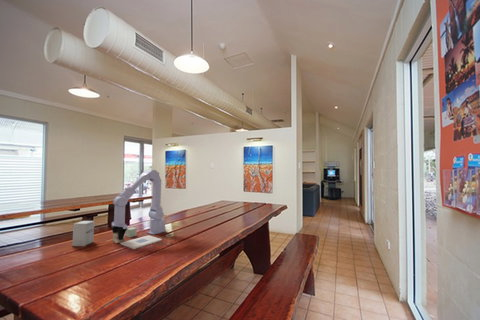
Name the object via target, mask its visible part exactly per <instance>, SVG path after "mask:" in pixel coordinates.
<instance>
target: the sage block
mask: <svg viewBox="0 0 480 320" xmlns="http://www.w3.org/2000/svg"><path fill="white" fill-rule="evenodd" d="M137 229H138V228H137V227H133V226H132V227H127V230H126V232H125V237H126V238H133V236H134V237H136V236H137V232H138V231H137Z"/></svg>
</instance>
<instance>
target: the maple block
mask: <svg viewBox="0 0 480 320" xmlns="http://www.w3.org/2000/svg"><path fill="white" fill-rule="evenodd" d="M125 237H126V233H125V234H124V237H123V240H119V238H118V232H117V233H113V232H112V242H113V243H116V244H118V243H119V244H120V243H122V242H125Z"/></svg>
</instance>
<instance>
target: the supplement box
mask: <svg viewBox="0 0 480 320" xmlns="http://www.w3.org/2000/svg"><path fill="white" fill-rule="evenodd" d="M72 228H73V229H72V241H71V242H72V243H71V246H72V247H85V246H87V245H90V244H92V243H93V242H94V237H95V235H94V234H95V220H82V221H78V222H75V223H73V227H72Z"/></svg>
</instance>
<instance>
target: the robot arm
mask: <svg viewBox="0 0 480 320" xmlns="http://www.w3.org/2000/svg"><path fill="white" fill-rule="evenodd" d="M146 181H147V182H148V181H150V182H151V183H152V198H151V199H152V201H151V203H152V204H151V206H150V207H149V212H148V217H149V219H150V220H149V224H150V225H149V231H147V232H146V233H147V234H151V235H157V234H161V233H165V232H166V220H165V218H164V212H163V210H164V209H163V207H162V206H161V203H162V202H161V199H162V197H161V195H162V179H161V176H160V172H159V171H157V170H156V169H146V170H144V171H143V172H141V174H140V175H139V177H138V178H137V179H136V180H135V182H133V183H132V184H131V186H127V187H124V190H123V191H122V192H121V193H119V194H118V196H116V197H115V198H114V199H113V201H112V203H113V205H114V211H113V213H114V216H113V221H112V222H111V227H110V229H111V231H112V234H113V233H117V232H118V238H119V240H123V237H124V238H125V236H124V234H125V235H126V230H127V228H128V224H126V222H125V221H126V205H127V204H128V201H129V200H130V198H131V197H132V196H133V195H134V194H136V190H137V189H138V188H139V187H140V186H141V185H142V184H143V183H144V182H146Z"/></svg>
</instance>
